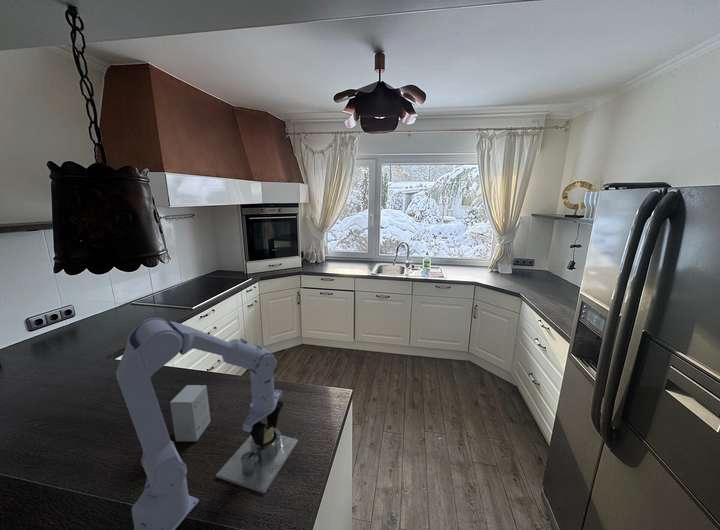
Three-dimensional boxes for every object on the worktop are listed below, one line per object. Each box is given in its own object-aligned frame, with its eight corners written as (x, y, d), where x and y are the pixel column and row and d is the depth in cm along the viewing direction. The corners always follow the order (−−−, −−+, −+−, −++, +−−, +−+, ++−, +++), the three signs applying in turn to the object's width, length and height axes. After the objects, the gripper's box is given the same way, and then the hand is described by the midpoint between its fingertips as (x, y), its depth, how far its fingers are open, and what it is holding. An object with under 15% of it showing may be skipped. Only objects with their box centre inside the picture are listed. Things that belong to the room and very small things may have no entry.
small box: (191, 421, 90) (186, 384, 88) (211, 421, 90) (207, 384, 88) (174, 441, 82) (169, 402, 80) (196, 442, 82) (191, 402, 80)
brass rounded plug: (267, 455, 77) (266, 437, 76) (254, 450, 78) (253, 432, 77) (277, 442, 81) (276, 425, 80) (264, 437, 82) (263, 420, 81)
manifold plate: (264, 493, 68) (263, 477, 67) (216, 477, 72) (214, 461, 71) (297, 442, 83) (297, 427, 82) (256, 430, 87) (255, 416, 86)
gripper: (266, 374, 84) (268, 414, 87) (231, 405, 71) (235, 452, 73) (287, 378, 82) (289, 419, 85) (255, 412, 69) (258, 459, 71)
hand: (265, 435), depth 79 cm, fingers open, 6 cm apart
